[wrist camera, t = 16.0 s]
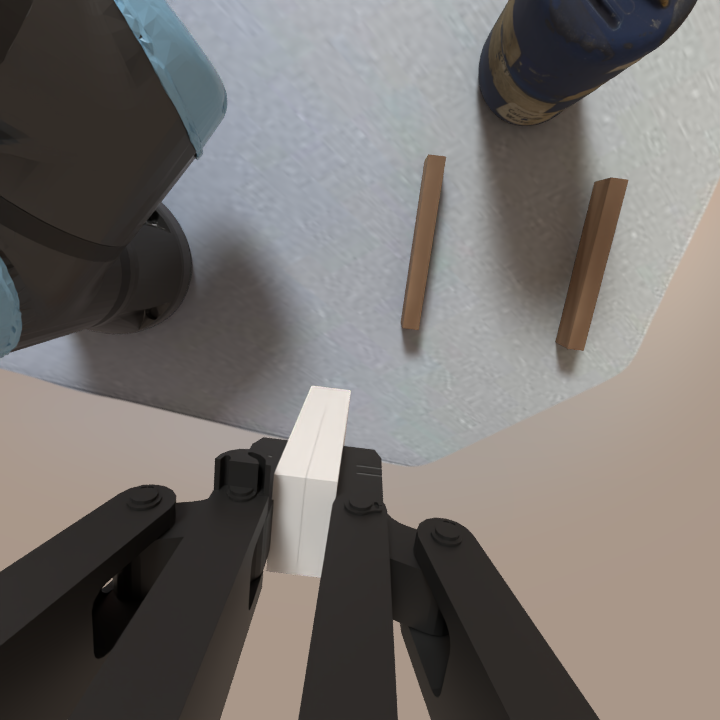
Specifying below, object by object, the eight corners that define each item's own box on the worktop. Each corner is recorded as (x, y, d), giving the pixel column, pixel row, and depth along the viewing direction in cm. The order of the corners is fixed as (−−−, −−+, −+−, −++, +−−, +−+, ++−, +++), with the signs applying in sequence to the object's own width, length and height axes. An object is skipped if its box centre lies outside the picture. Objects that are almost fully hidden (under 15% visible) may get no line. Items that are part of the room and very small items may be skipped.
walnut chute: (400, 322, 46) (402, 328, 43) (424, 160, 42) (428, 154, 39) (570, 343, 46) (583, 350, 44) (610, 184, 42) (628, 179, 39)
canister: (551, -12, 38) (699, -223, 21) (597, 90, 40) (767, -25, 23) (455, 56, 40) (519, -88, 23) (503, 151, 42) (597, 86, 24)
